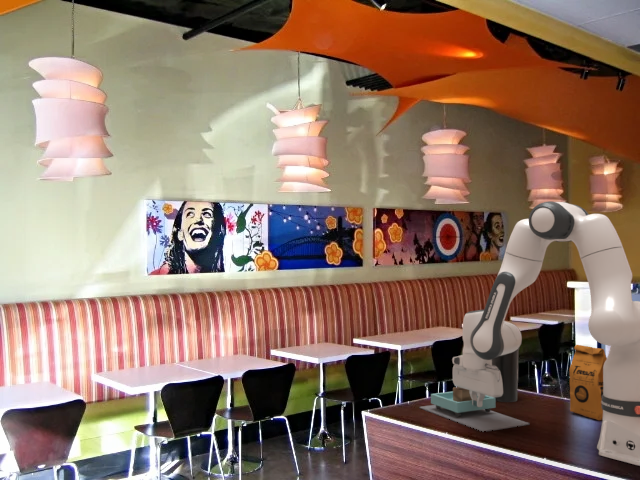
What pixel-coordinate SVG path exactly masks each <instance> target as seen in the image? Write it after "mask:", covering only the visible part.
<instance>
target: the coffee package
mask: <svg viewBox="0 0 640 480" xmlns="http://www.w3.org/2000/svg"><path fill="white" fill-rule="evenodd" d="M573 349H574V350H575V351H574V355H573V358H572V360H571V364H570V366H569V395H570V398H569V405H570V407H569V411H570V412H572V413H575V414H577V415H581V416H584V417H586V418H589V419H594V420H596V421H602V419H603V409H602V408H601V406H602V403H601V401H602V395H603V366H604V363H605V361H606V359H607V357H608V356H607V355H606V353H605V349H604V348H601V347H600V348H598V347H593V346H592V347H591V346H587V345H581V344H576V345H575V346H574V348H573Z"/></svg>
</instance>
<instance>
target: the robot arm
mask: <svg viewBox="0 0 640 480" xmlns="http://www.w3.org/2000/svg"><path fill="white" fill-rule="evenodd" d="M617 232H618V231H617V230H616V228H615V226H614V224H613V223H612V221H611V220H610V219H609V217H608V216H607V215H605V214H602V213H591V214H589V212H588V211H586V209H585V208H583V207H581V206H579V205H577V204H572V203H568V202H565V201H548V200H547V201H544V202H540V203H539V204H536V206H534V207H533V208H532V209H531V211H530V213H529V216H528V218H524V219H521V220H519V221H517V222H516V223H515V225H514V227H513V229H512V231H511V234H510V236H509V239H508V241H507V244H506V248H505V252H504V256H503V259H502V262H501V266H500V269H499V271H498V273H497V276H496V277H495V280H494V282H493V285H492V287H491V289H490V291H489V296H488V297H487V300H486V303H485V307H484V309H479V310H471V311H468V312H466V313H465V315H464V317H463V320H462V321H463V322H462V341H463V347H462V354H461V355H458V356H453V357H452V359H451V361H452V364H453V367H452V383H453V385H454V387H460V388H464V389H467V390H469V394H470V396H471V399H472V405H474V406H477V407H482V405H483V400H484V398H485V395H487V396H490V397H501V396H502V394H503V383H502V377H501V373H500V371H499V369H498V368H497V366H492V359H494V358H496V357H499V356H502V355H506V354H509V353H512V352H514V351H516V350H517V349H518V348H519V349H520V347H521V346H522V342H523V336H522V332H521V330H520V329H519V327H518V326H517V325H516V324H514V323H512V322H508V321H506V320H505V319H506V316H507V314H508V311H509V308H510V305H511V303H512V301H513V299H514V298H515V297H516V296H517V295H518V294H519V293H520V292H521V291H523V290H524V289H526V288H527V287H529V286H531V285H532V284H533V283H535V282H536V280H537V279H538V277H539V275H540V272H541V270H542V267H543V263H544V258H545V255H546V251H547V248H548V247H549V246H550V244H551V243H553V242H557V243H560V242H573V243H574V245H575V247H576V249H577V252H578V255H579V258H580V261H581V264H582V267H583V270H584V274H585V276H586V279H587V284H588V287H589V294H590V305H591V306H590V307H591V313H590V316H589V318H588V323H587V324H588V325H587V326H588V331H589V334H590V335H591V337H592V338H593V340H595V341H596V342H598V343H600V344H601V345H605V346H609V351H608V355H607V356H606V357H607V359H606V361H605V363H604V366H603V395H602V401H601V403H602V406H601V408H602V409H603V419H602V420H601V427H600V434H599V439H598V441H597V445H596V449H597V450H598V455H599V456H602V457H605V458H609V459H613V460H617V461H621V462H624V463H626V464H627V463H628V464H632V465H635V466H639V467H640V301H639V300H637V301H636V300H634V301H633V296H632V280H633V271H632V270H631V269H632V268H631V267H630V263H629V261H628V258H627V255H626V252H625V249H624V247H623V243H622V241H621V239H620V237H619V235H618V233H617ZM477 396H478V398H477Z"/></svg>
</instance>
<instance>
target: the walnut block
mask: <svg viewBox="0 0 640 480" xmlns="http://www.w3.org/2000/svg"><path fill="white" fill-rule="evenodd" d="M452 391H453V401H456V402H463V401H470V400H472V399H471V396H470V394H469V390H467V389H464V388H460V387H457V386H454V387H453V388H452Z"/></svg>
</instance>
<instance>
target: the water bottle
mask: <svg viewBox="0 0 640 480" xmlns="http://www.w3.org/2000/svg"><path fill="white" fill-rule="evenodd" d="M519 350H520V347H519V348H518V349H517V350H516V351H514V352H512V353H509V354H506V355H502V356H499V357H496V358H494V359H492V366H497V368H498V369H499V371H500V373H501V377H502V383H503V394H502V396H501V397H493V398H495V399H496V402H500V403H513V402H517V401H518V385H519V384H518V383H519Z"/></svg>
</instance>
